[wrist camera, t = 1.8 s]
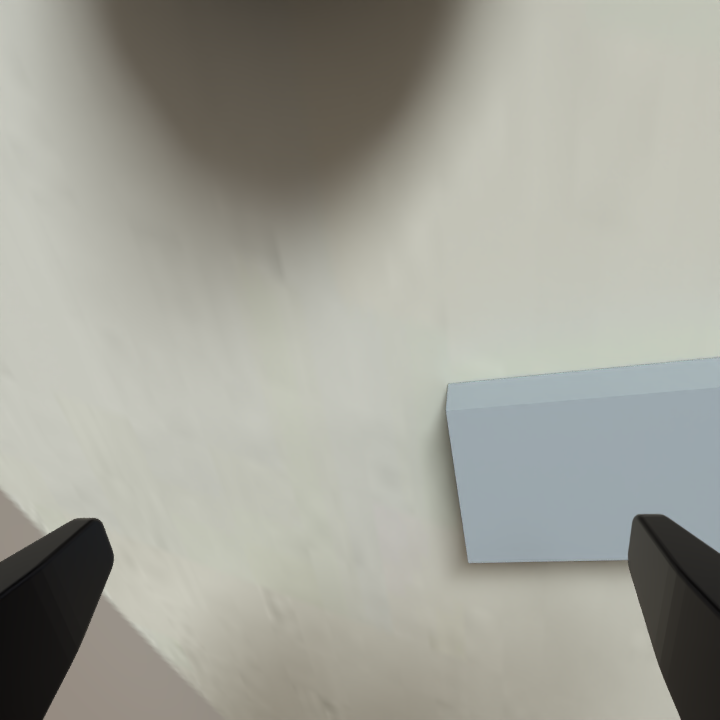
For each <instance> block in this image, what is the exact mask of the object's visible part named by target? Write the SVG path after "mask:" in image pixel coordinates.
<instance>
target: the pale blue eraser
mask: <svg viewBox="0 0 720 720" xmlns="http://www.w3.org/2000/svg"><path fill="white" fill-rule="evenodd" d="M446 415H447V422H448V429H449V436H450V442H451V449H452V456H453V463H454V469H455V476H456V483H457V490H458V496H459V503H460V510H461V517H462V523H463V530H464V537H465V544H466V550H467V557H468V563H495V562H547V561H598V560H628V549H629V541H630V534H631V526H632V520H633V518H634V516H636V515H637V514H663V515H665V516H667V517H669V518H670V519H671V520H673V521H674V522H676V523H677V524H679V525H680V526H682V527H683V528H684V529H686V530H687V531H689V532H690V533H692V534H693V535H694V536H696V537H697V538H699V539H700V540H702V541H703V542H704V543H706V544H707V545H709V546H710V547H712V548H713V549H715V550H716V551H717V552H719V553H720V357H717V358H707V359H697V360H687V361H677V362H667V363H656V364H646V365H636V366H626V367H616V368H605V369H595V370H585V371H575V372H565V373H554V374H544V375H534V376H524V377H514V378H504V379H493V380H483V381H473V382H463V383H453V384H448V391H447V403H446Z"/></svg>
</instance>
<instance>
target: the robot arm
mask: <svg viewBox="0 0 720 720" xmlns="http://www.w3.org/2000/svg"><path fill="white" fill-rule="evenodd" d="M113 562H114V554H113V550H112V547H111V545H110V542H109V539H108V536H107V534H106V531H105V528H104V526H103V523H102V522H101V521H100V520H99V519H96V518H77V519H74V520H72V521H70V522H68V523H66V524H65V525H63V526H61V527H59V528H58V529H56V530H54V531H53V532H51V533H49V534H47V535H46V536H44V537H42V538H41V539H39V540H37V541H35V542H34V543H32V544H30V545H29V546H27V547H25V548H24V549H22V550H20V551H18V552H17V553H15V554H13V555H11V556H10V557H8V558H7V559H5V560H3V561H1V562H0V720H43V718H44V716H45V715H46V713H47V710H48V709H49V707H50V705H51V703H52V701H53V699H54V697H55V695H56V693H57V691H58V689H59V687H60V685H61V683H62V682H63V679H64V678H65V676H66V674H67V672H68V670H69V668H70V666H71V664H72V662H73V660H74V658H75V656H76V654H77V652H78V649H79V647H80V645H81V643H82V640H83V638H84V636H85V633H86V631H87V629H88V626H89V623H90V621H91V618H92V616H93V613H94V611H95V609H96V606H97V604H98V601H99V599H100V596H101V594H102V592H103V589H104V587H105V584H106V582H107V579H108V577H109V574H110V572H111V569H112V566H113ZM628 565H629V570H630V573H631V576H632V580H633V583H634V586H635V590H636V593H637V596H638V600H639V603H640V606H641V609H642V613H643V616H644V619H645V623H646V626H647V629H648V633H649V636H650V639H651V643H652V646H653V649H654V652H655V655H656V658H657V661H658V665H659V667H660V670H661V673H662V675H663V678H664V680H665V683H666V685H667V688H668V690H669V692H670V695H671V697H672V699H673V702H674V704H675V706H676V709H677V711H678V713H679V716H680V718H681V720H720V553H719V552H717V551H716V550H715V549H713V548H712V547H710V546H709V545H707V544H706V543H704V542H703V541H702V540H700V539H699V538H697V537H696V536H694V535H693V534H692V533H690V532H689V531H687V530H686V529H684V528H683V527H682V526H680V525H679V524H677V523H676V522H674V521H673V520H671V519H670V518H669V517H667V516H665V515H663V514H637V515H636V516H634V518H633V520H632V526H631V534H630V541H629V549H628Z"/></svg>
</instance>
